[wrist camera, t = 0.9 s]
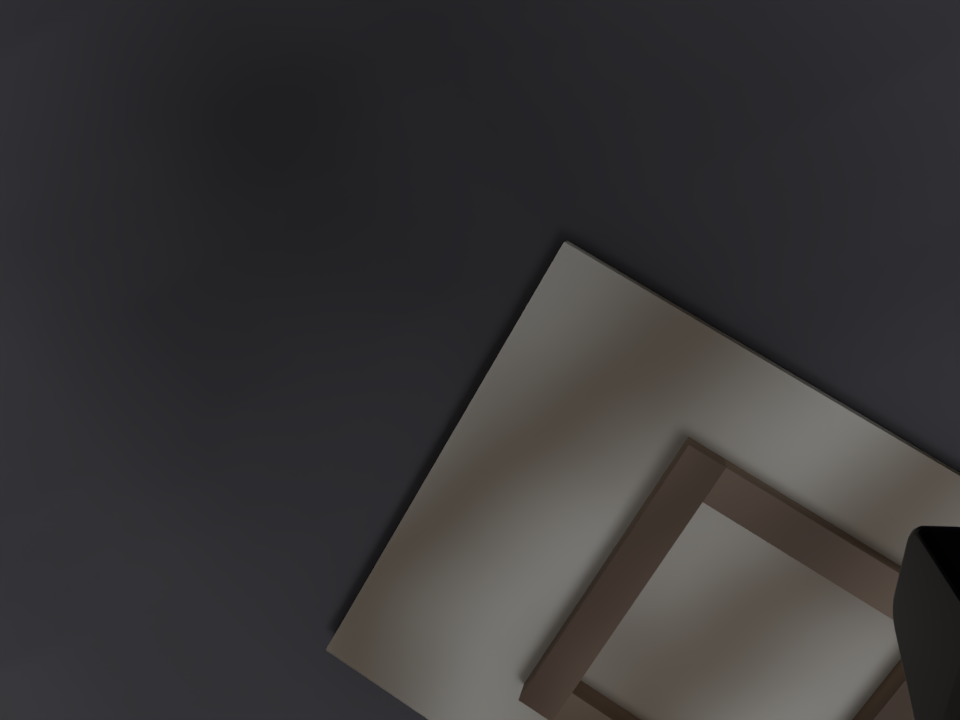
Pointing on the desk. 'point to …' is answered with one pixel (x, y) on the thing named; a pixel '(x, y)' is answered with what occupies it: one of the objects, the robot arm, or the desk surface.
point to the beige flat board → (647, 532)
